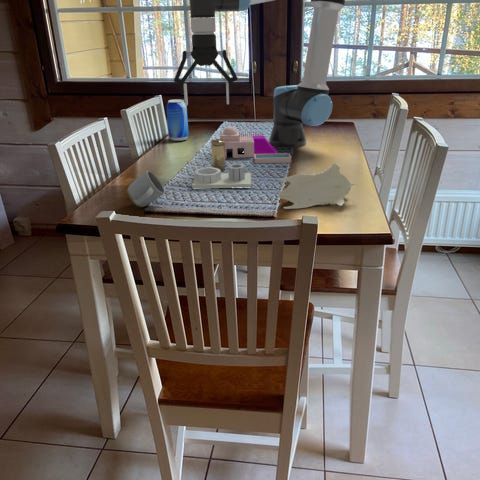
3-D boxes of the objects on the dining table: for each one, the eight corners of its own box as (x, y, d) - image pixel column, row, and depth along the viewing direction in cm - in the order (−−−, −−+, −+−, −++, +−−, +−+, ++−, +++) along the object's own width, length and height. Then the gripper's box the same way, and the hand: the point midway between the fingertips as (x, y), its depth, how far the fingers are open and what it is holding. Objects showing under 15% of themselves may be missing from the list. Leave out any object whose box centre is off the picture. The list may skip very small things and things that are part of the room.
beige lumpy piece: (283, 216, 123) (275, 173, 124) (280, 219, 135) (273, 180, 136) (364, 201, 123) (356, 159, 124) (354, 206, 135) (347, 167, 135)
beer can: (165, 140, 198) (161, 101, 191) (175, 135, 205) (172, 98, 198) (183, 141, 195) (179, 102, 188) (192, 137, 202) (189, 99, 195)
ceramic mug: (144, 209, 132) (130, 186, 132) (168, 193, 131) (153, 170, 131) (131, 210, 122) (115, 185, 122) (156, 193, 121) (140, 168, 121)
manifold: (251, 177, 151) (250, 160, 148) (251, 188, 141) (250, 171, 138) (196, 178, 151) (194, 161, 149) (192, 189, 141) (191, 172, 139)
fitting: (225, 167, 161) (224, 139, 156) (225, 171, 157) (224, 142, 152) (212, 167, 161) (211, 139, 156) (212, 171, 157) (210, 142, 152)
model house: (220, 165, 164) (219, 135, 160) (221, 152, 180) (219, 124, 175) (291, 163, 165) (291, 133, 160) (285, 150, 181) (285, 122, 176)
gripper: (243, 32, 146) (244, 101, 156) (164, 33, 146) (170, 103, 155) (244, 32, 140) (245, 105, 149) (161, 34, 139) (167, 107, 148)
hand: (207, 104), depth 152 cm, fingers open, 13 cm apart
